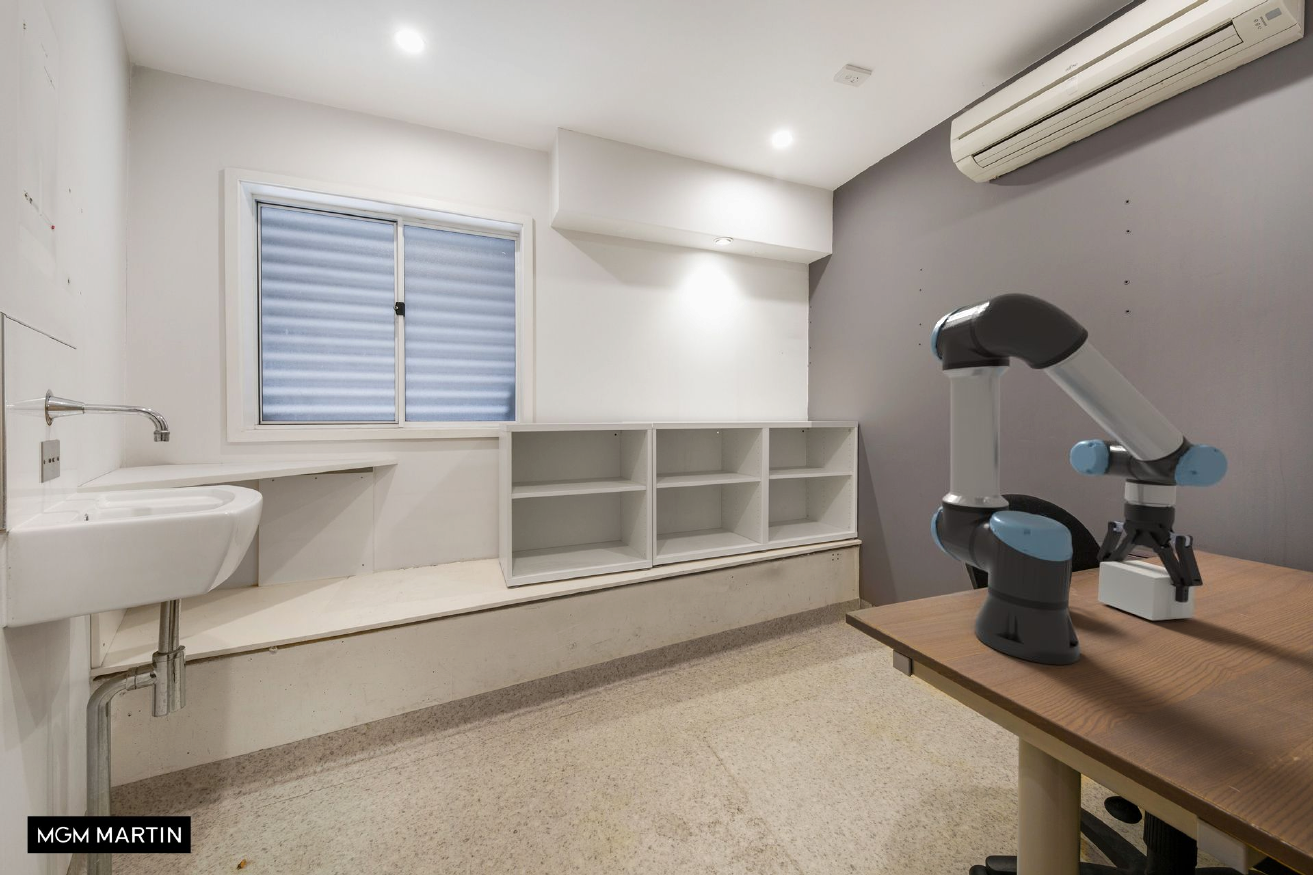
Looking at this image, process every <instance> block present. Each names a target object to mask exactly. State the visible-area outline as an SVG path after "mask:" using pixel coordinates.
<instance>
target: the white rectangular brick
mask: <svg viewBox="0 0 1313 875" xmlns="http://www.w3.org/2000/svg"><path fill="white" fill-rule="evenodd" d="M1098 576H1099V577H1098V579H1099V580H1098V593H1097V601H1098V602H1100V603H1103V604H1106V605H1109V606H1112V607H1114V608H1118V609H1120V610H1122V611H1125V612H1127V613H1129V614H1134V615H1136V616H1138V617H1142V618H1144V619H1147V620H1150V621H1164V620H1175V619H1177V620H1179V619H1189V618H1190V619H1192V618H1194V617H1193V616H1194V603H1195V590H1196V589H1195V588H1196V586H1191V587H1189V594H1188V601H1187V602H1183V612H1182V617H1169V616H1167V606H1168V591H1169V584H1174V582H1173V581H1172V579H1171V577H1170V575H1169V574H1168V572H1167V570H1166V568H1165V567H1164V566H1161V565H1157V564H1153V563H1149V562H1146V561H1141V560H1123V561H1115V562H1102V561H1099V575H1098Z"/></svg>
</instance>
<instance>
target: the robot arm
mask: <svg viewBox="0 0 1313 875" xmlns="http://www.w3.org/2000/svg"><path fill="white" fill-rule="evenodd" d="M1089 339H1090V332H1089V331H1088V330H1087V329H1086V328H1085V327H1084V326H1083V325H1081V323H1079V322H1078V321H1077V320H1076V319H1075V318H1074V317H1072V315H1070V314H1069V313H1068V312H1066V311H1064V310H1063V309H1062V308H1060V307H1058V306H1057V305H1055V304H1053V303H1051V302H1050V301H1047V300H1045V299H1044V298H1043V299H1042V298H1040V297H1038V296H1034V295H1030V294H1027V293H1021V292H1020V293H1019V292H1011V293H1004V294H999V295H997V296H994V297H992V298H988V299H986V300H983V301H982V300H981V301H979V302H975V303H973V304H970V305H964V306H962V307H961V306H960V307H958V308H957V309H955V310H953V311H951V312H948V313H947V314H946V315H944V316H943V317H942V318H941V319H939V321H938V322H937V323H936V324H935V327H934V328H933V330H932V333H931V338H930V347H931V351H932V354H933V355H934V356H936V359H937V360H938V361H940V362H941V365H942V367H941V368H942V371H941V373H942V374H943V375H944V376H946V377H947V378H949V381H950V456H949V457H950V481H949V482H950V485H949V486H950V487H949V488H950V491H949V492H948V493H947V494H945V495H944V496H943V497H942V500H941V501H942V502H941V506H940V507H939V508H938V509H937V512H936V513H934V514H933V516H932V518H931V522H930V523H931V524H930V533H931V536H932V538H933V540H934V542H935V544H936V545H937V546H938V548H939V549H940V550H941V551H942V552H944V553H945V554H948V555H949V556H951V558H953V559H955V560H957V561H959V562H963V563H965V564H967V565H969V566H972V567H975V568H977V569H979V570H980V571H983V572H986V573H988V575H987V576H988V577H987V580H988V581H987V593H986V597H985V600H984V601H983V603H982V605H981V608H980V609H979V612H978V614H977V615H976V618H975V621H974V635H975V637H976V638H977V639H978V640H980V642H982V643H983V644H985V645H987V646H988V647H991V648H992V649H994V650H996V651H999V652H1001V653H1003V654H1007V655H1009V656H1012V657H1014V658H1018V659H1022V660H1025V661H1030V662H1035V663H1040V664H1048V665H1061V666H1062V665H1071V664H1074V663H1077V662H1078V661H1079V660H1080V652H1081V651H1080V648H1081V647H1080V642H1079V639H1078V637H1077V633H1076V630H1075V628H1074V625H1073V622H1072V619H1071V616H1070V613H1069V602H1070V590H1071V584H1070V577H1071V566H1072V564H1073V563H1072V562H1073V555H1074V552H1073V551H1074V549H1073V544H1072V534H1071V531H1070V530H1069V529H1068V527H1067V526H1066V525H1064V524H1063V523H1061V522H1059V521H1057V520H1055V519H1053V518H1050V517H1047V516H1042V515H1040V514H1033V513H1029V512H1025V511H1017V510H1009V508H1010V507H1009V504H1010V502H1009V501H1008V500H1006V498H1004V497H1003V496H1002V495H1001V493H1000V490H1001V489H1000V487H1001V486H1000V476H1001V475H1000V471H1001V470H1000V468H1001V467H1000V466H1001V462H1000V461H1001V458H1000V457H1001V455H1000V454H1001V453H1000V452H1001V449H1000V448H1001V447H1000V446H1001V444H1000V443H1001V442H1000V440H1001V377H1002V376H1003V375H1004V374H1005V373H1006V372H1007V371H1009V370H1010V368H1011V367H1010V366H1011V361H1010V360H1011V358H1016V359H1017V360H1019V361H1022V362H1023V363H1025V364H1026V365H1027V366H1028V367H1029V369H1031V370H1034V371H1042V372H1044V373H1045V374H1046V375H1047V376H1048V377H1049V378H1050V379H1051V380H1052V381H1053V382H1054V383H1056V384H1057V385H1058V386H1059V388H1061V389H1062V390H1063V392H1065V393H1066V394H1067V395H1068V396H1069V397H1070V398H1071V399H1072V400H1073V401H1074V402H1075V403H1076V404H1077V405H1079V406H1080V408H1082V410H1084V411H1085V413H1087V414H1088V415H1089V416H1090V417H1091V418H1092V419H1093V420H1094V421H1095V422H1096V423H1097V424H1098V425H1099V426H1100V427H1101V428H1102V429H1104V430H1105V431H1106V433H1108V434H1109V436H1111V437H1112V438H1113V439H1114V440H1113V439H1091V440H1090V439H1088V440H1081V441H1079V442H1077V443H1076V444H1075V445H1074V446H1073V447H1072V448H1071V450H1070V456H1069V457H1070V458H1069V461H1070V465H1071V467H1072V468H1073V469H1074V471H1075V472H1077V473H1079V474H1080V475H1083V476H1092V477H1100V476H1101V477H1102V476H1103V477H1112V478H1113V477H1114V478H1123V479H1125V484H1124V485H1125V486H1124V488H1125V490H1124V499H1125V500H1126V501H1125V503H1123V504H1124V507H1123V518H1124V520H1125V521H1124V522H1122V521H1121V520H1118V521H1107V532H1106V534H1105V536H1104V539H1103V541H1102V543H1101V546H1100V548H1099V551H1098V552H1097V555H1096V560H1097V561H1099V562H1115V561H1125V559H1126V558H1127V557H1128V556H1129V555H1130V554H1131V552H1132V551H1133V550H1134V549H1135V548H1136V547H1137V546H1143V547H1144V548H1145V547H1146V548H1148V549H1152V550H1153V552H1154V553H1155V554H1156V555H1157V556H1158V558H1159V560H1160V562H1161V563H1162V565H1163V567H1165V568H1166V570H1167V572H1168V574H1169V575H1170V577H1171V579H1172V581H1173V582H1174V584H1169V591H1168V606H1167V616H1169V617H1182V612H1183V602H1187V601H1188V594H1189V587H1191V586H1195V587H1201V586H1203V584H1204V583H1203V582H1204V581H1203V579H1202V575H1201V572H1200V568H1199V566H1198V563H1197V559H1196V555H1195V552H1194V548H1193V543H1194V542H1193V541H1194V537H1193V536H1192V535H1189V534H1188V535H1187V534H1186V535H1185V534H1183V535H1182V534H1180V533H1176V532H1175V531H1174V530H1173V527H1174V524H1175V521H1176V520H1175V519H1176V518H1175V517H1176V508H1175V507H1174V506H1172V505H1175V504H1176V502H1177V501H1176V500H1177V499H1176V497H1177V486H1179V487H1194V488H1195V487H1197V488H1209V487H1213V486H1215V485H1217V484H1218V483H1220V482H1221V481H1222V479H1223V478H1224V477H1225V476H1226V475H1227V472H1228V468H1229V463H1228V459H1227V456H1226V455H1225V453H1224V452H1223V451H1222V450H1221V449H1219V448H1217V447H1214V446H1212V445H1211V446H1210V445H1205V444H1203V443H1198V444H1194V443H1191V441H1189V440H1188V438H1186V437H1185V435H1183V433H1181V432H1180V431H1179V429H1177V428H1176V427H1175V425H1173V423H1171V422H1170V421H1169V420H1168V419H1167V418H1166V417H1165V416H1164V415H1163V414H1162V413H1161V412H1160V411H1159V410H1158V409H1157V408H1156V407H1155V406H1154V405H1153V404H1152V403H1151V402H1149V400H1148V399H1147V398H1146V397H1145V396H1143V394H1142V393H1140V392H1139V390H1138V389H1137V388H1135V386H1133V385H1132V383H1131V382H1129V381H1128V380H1127V379H1126V377H1124V376H1123V374H1121V373H1120V371H1118V370H1117V369H1116V368H1115V367H1114V365H1112V364H1111V363H1110V361H1108V360H1107V359H1106V358H1105V357H1104V356H1103V355H1102V354H1101V353H1100V352H1099V351H1098V350H1097V349H1096V348H1095V347H1094V346H1093V345H1092V344H1091V343H1090V342H1089ZM1123 532H1125V533H1126V535H1125V536H1124V538H1122V540H1121V543H1120V544H1119V542H1120V539H1121V537H1122V534H1123ZM1170 541H1172V544H1174V547H1173V545H1172V544H1171V542H1170ZM1118 544H1119V545H1118ZM1174 551H1175V552H1176V555H1175V553H1174ZM1071 578H1072V577H1071ZM1069 589H1070V590H1069Z"/></svg>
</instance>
